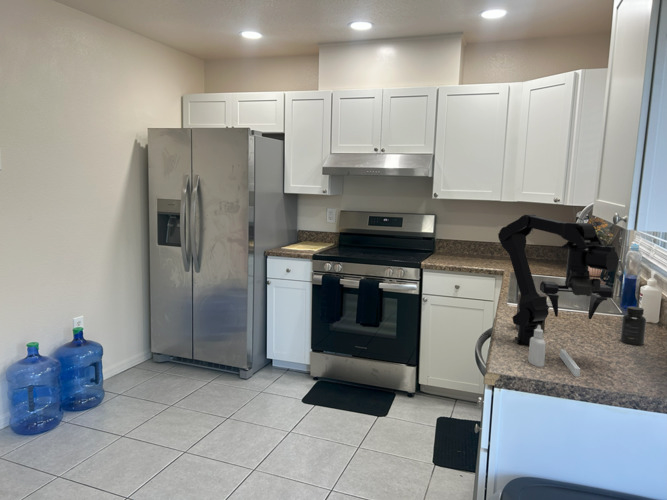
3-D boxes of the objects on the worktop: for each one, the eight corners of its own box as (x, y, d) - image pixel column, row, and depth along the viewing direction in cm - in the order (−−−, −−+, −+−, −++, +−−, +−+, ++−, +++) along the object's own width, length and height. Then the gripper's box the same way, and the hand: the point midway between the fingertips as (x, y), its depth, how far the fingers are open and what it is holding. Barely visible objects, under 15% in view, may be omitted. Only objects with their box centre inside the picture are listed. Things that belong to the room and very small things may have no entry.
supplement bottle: (622, 338, 171) (625, 304, 169) (645, 342, 166) (649, 307, 165) (618, 342, 165) (622, 307, 164) (642, 347, 161) (646, 311, 159)
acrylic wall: (559, 359, 147) (560, 349, 147) (563, 359, 147) (564, 349, 147) (574, 379, 132) (575, 368, 131) (579, 379, 131) (580, 368, 131)
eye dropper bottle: (544, 364, 143) (547, 324, 141) (543, 370, 138) (547, 329, 136) (528, 361, 144) (531, 322, 143) (527, 367, 139) (530, 326, 138)
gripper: (550, 268, 137) (545, 322, 139) (623, 272, 133) (617, 328, 135) (541, 262, 148) (537, 312, 150) (608, 266, 144) (603, 317, 146)
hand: (572, 317), depth 145 cm, fingers open, 9 cm apart
